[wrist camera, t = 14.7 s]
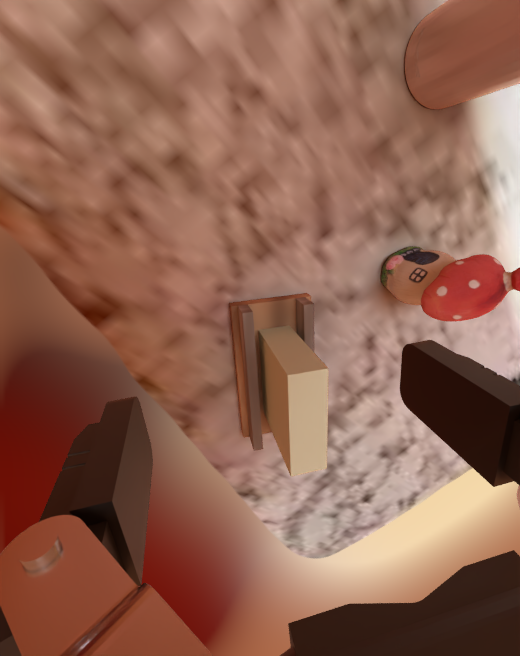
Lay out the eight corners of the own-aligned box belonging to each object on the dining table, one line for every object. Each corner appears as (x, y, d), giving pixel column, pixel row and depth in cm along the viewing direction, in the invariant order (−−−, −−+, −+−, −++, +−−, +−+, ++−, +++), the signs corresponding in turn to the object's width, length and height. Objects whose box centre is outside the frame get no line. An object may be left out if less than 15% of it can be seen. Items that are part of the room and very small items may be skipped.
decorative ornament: (436, 237, 46) (548, 254, 32) (437, 284, 48) (542, 318, 34) (372, 256, 44) (460, 282, 31) (377, 303, 47) (460, 346, 33)
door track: (306, 293, 44) (320, 302, 40) (308, 417, 51) (320, 436, 47) (229, 303, 42) (235, 314, 38) (241, 430, 49) (248, 452, 45)
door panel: (289, 325, 43) (328, 368, 32) (291, 406, 48) (326, 468, 37) (258, 329, 43) (287, 375, 32) (263, 411, 47) (290, 476, 36)
